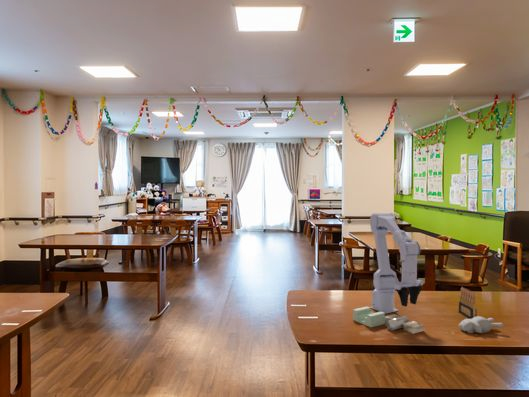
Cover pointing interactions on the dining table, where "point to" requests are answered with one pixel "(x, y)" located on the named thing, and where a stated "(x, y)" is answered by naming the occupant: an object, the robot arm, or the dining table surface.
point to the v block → (368, 317)
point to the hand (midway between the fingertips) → (408, 304)
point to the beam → (407, 324)
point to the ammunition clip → (467, 304)
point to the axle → (397, 323)
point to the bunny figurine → (478, 324)
